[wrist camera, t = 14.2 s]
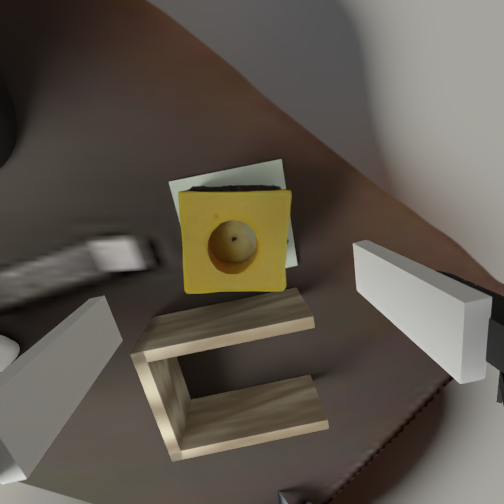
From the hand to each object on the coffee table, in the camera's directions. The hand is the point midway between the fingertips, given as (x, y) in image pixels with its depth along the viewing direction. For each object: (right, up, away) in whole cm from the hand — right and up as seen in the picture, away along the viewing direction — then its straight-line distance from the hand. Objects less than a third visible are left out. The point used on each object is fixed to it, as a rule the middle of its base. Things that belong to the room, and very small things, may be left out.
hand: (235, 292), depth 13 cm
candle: (-1, +6, +20) cm, 20 cm away
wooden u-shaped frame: (-1, -13, +25) cm, 28 cm away
